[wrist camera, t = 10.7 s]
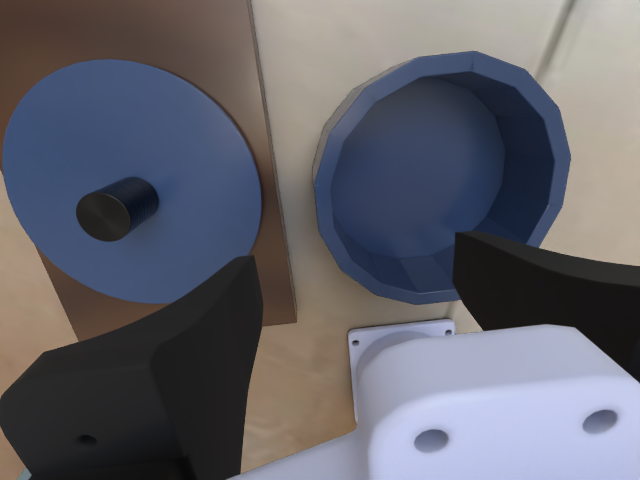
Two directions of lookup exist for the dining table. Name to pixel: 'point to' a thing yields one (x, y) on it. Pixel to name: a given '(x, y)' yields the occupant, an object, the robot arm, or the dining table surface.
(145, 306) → the board
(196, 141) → the lid
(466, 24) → the dining table surface
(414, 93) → the tin
